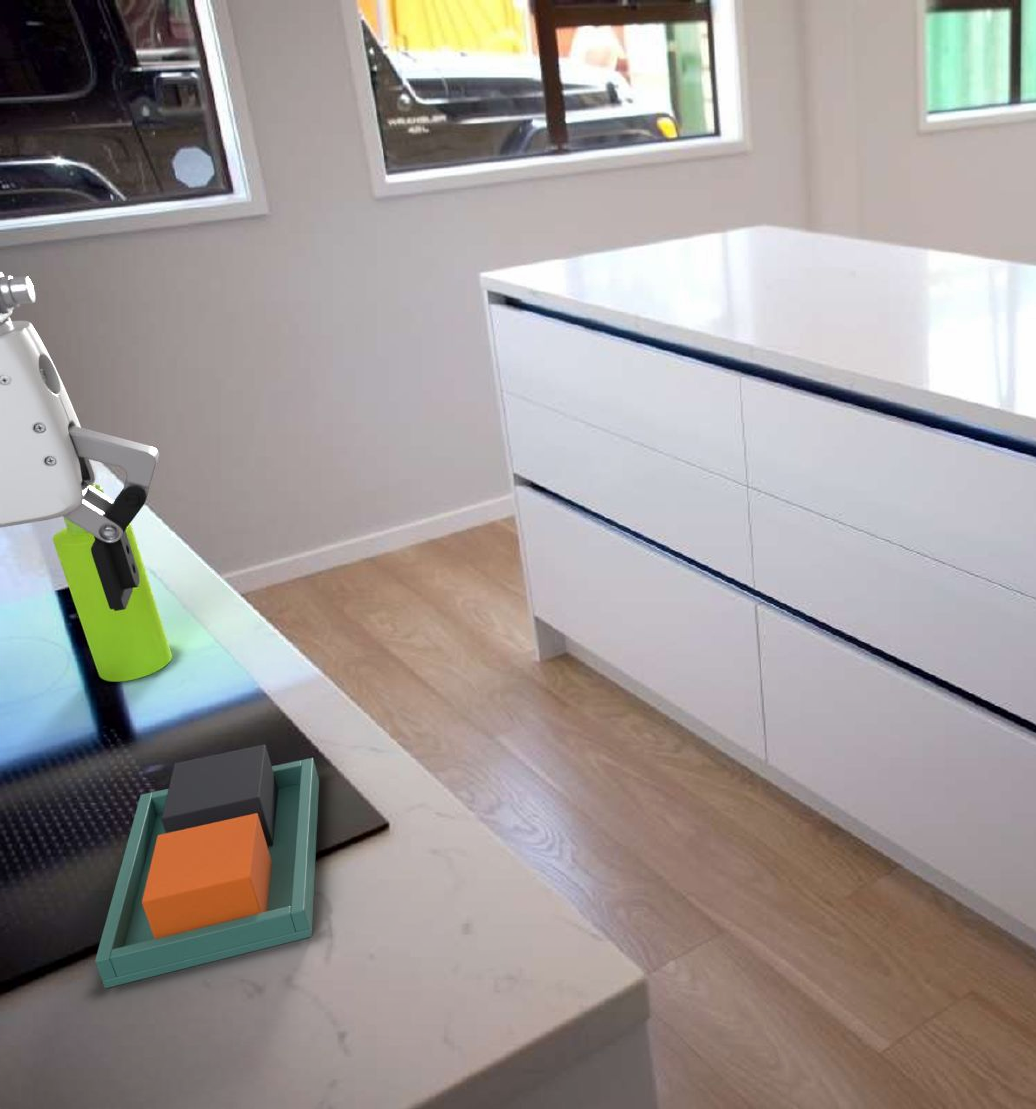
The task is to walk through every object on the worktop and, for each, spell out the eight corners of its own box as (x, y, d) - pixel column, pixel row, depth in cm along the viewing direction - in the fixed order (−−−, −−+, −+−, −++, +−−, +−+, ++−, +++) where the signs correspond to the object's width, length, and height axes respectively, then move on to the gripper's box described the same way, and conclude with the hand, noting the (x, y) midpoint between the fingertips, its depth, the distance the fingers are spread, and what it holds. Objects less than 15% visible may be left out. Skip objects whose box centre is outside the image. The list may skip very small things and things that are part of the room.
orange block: (159, 954, 76) (141, 902, 75) (174, 884, 82) (157, 834, 81) (265, 928, 78) (249, 876, 76) (272, 861, 84) (257, 812, 82)
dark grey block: (177, 868, 84) (160, 818, 82) (189, 810, 90) (174, 763, 88) (273, 845, 86) (258, 796, 84) (278, 790, 92) (265, 743, 90)
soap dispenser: (76, 687, 109) (0, 470, 101) (126, 648, 115) (58, 441, 107) (138, 688, 108) (67, 469, 100) (185, 649, 114) (121, 440, 106)
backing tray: (104, 989, 75) (94, 961, 74) (148, 818, 90) (140, 794, 90) (311, 936, 78) (304, 909, 77) (319, 781, 94) (313, 757, 93)
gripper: (120, 277, 68) (203, 563, 75) (-257, 319, 64) (-131, 620, 71) (96, 305, 62) (188, 615, 69) (-326, 354, 57) (-180, 682, 64)
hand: (27, 617), depth 70 cm, fingers open, 9 cm apart
